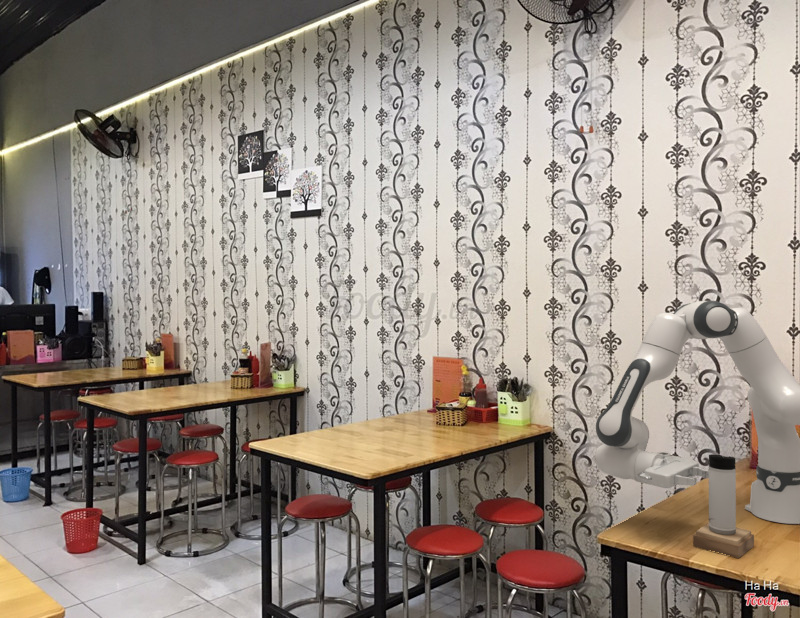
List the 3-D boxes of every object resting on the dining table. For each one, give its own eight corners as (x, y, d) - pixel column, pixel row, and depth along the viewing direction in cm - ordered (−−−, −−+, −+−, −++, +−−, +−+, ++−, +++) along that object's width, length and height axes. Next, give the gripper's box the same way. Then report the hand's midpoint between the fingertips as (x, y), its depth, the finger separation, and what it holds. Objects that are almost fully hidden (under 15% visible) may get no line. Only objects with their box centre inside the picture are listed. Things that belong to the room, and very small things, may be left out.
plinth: (709, 535, 176) (709, 520, 176) (753, 546, 168) (753, 530, 168) (693, 546, 168) (693, 531, 168) (738, 558, 160) (738, 542, 160)
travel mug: (705, 531, 168) (704, 454, 167) (713, 524, 172) (713, 450, 172) (731, 537, 163) (730, 458, 163) (739, 530, 168) (738, 453, 168)
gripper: (634, 464, 174) (686, 474, 164) (667, 451, 188) (717, 459, 178) (634, 487, 174) (686, 499, 164) (667, 472, 188) (717, 482, 178)
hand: (702, 478), depth 171 cm, fingers open, 8 cm apart
